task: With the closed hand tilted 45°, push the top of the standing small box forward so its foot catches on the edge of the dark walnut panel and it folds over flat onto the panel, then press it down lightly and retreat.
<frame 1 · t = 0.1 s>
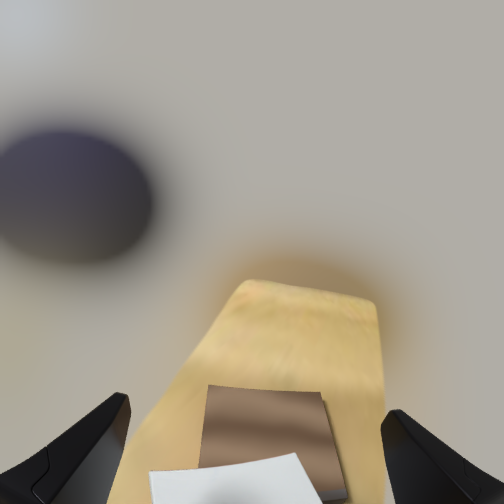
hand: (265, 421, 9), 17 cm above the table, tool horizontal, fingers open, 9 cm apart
floor panel: (267, 448, 24), on the table
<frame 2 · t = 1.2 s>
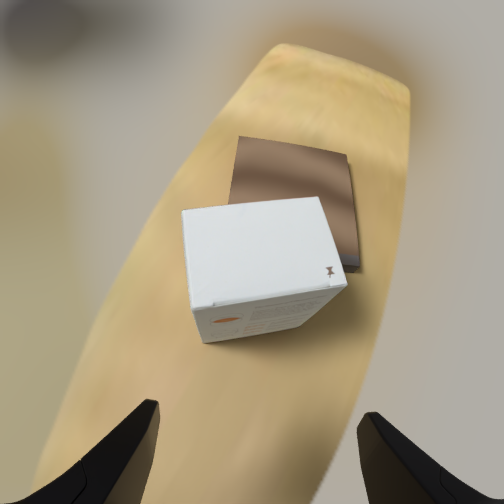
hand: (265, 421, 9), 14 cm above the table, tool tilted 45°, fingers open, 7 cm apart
small box: (244, 304, 25), on the table
floor panel: (291, 202, 29), on the table
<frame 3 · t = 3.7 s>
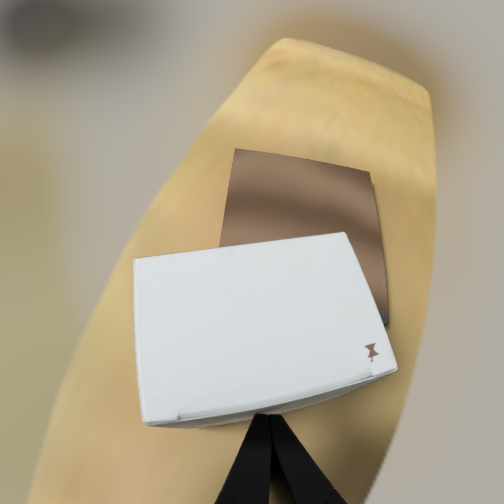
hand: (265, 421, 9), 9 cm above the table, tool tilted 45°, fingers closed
small box: (242, 378, 18), on the table, touching gripper
floor panel: (302, 236, 23), on the table
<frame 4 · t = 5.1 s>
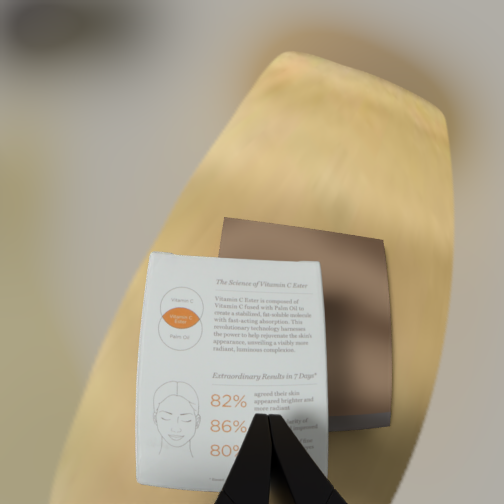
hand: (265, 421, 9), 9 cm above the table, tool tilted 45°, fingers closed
small box: (229, 480, 11), point 4 cm above the table, touching floor panel
floor panel: (302, 328, 20), on the table
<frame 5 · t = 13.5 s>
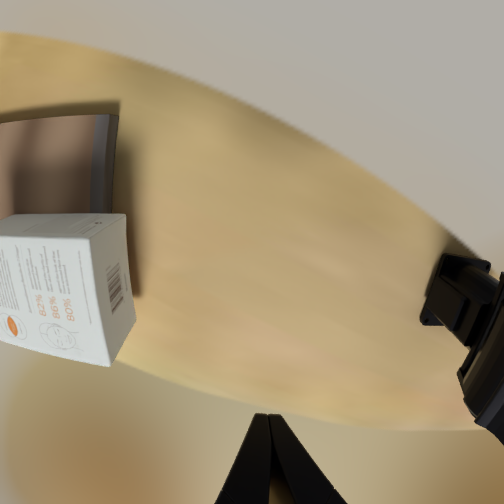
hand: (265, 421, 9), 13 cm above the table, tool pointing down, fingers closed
small box: (120, 289, 17), point 4 cm above the table, touching floor panel
floor panel: (38, 197, 19), on the table
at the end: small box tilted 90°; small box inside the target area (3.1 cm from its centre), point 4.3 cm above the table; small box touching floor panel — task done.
